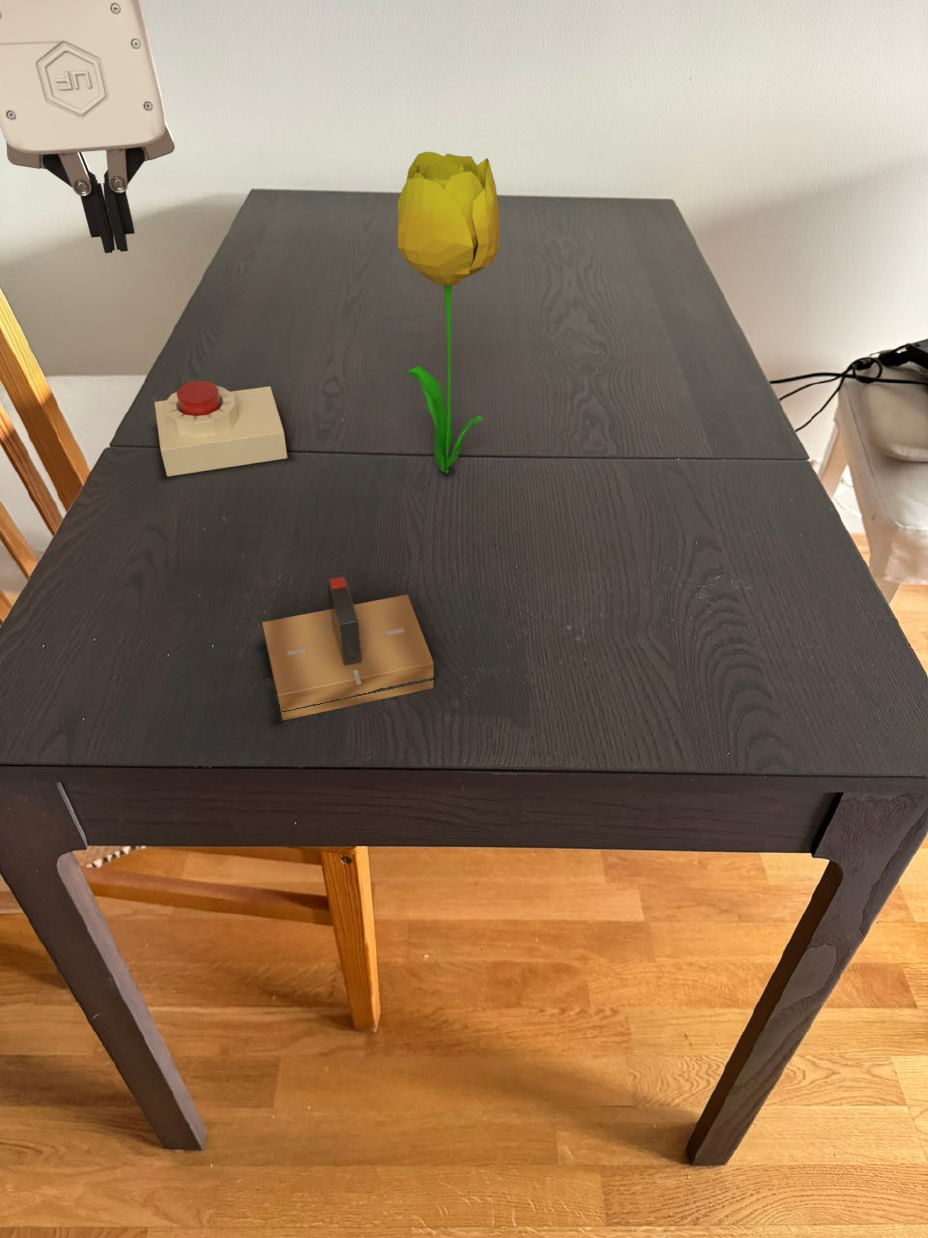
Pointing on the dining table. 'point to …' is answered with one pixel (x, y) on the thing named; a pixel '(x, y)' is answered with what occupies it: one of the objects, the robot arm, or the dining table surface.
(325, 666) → the dial panel
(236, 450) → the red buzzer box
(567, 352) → the dining table surface
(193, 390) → the red button
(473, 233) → the flower
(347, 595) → the black block
